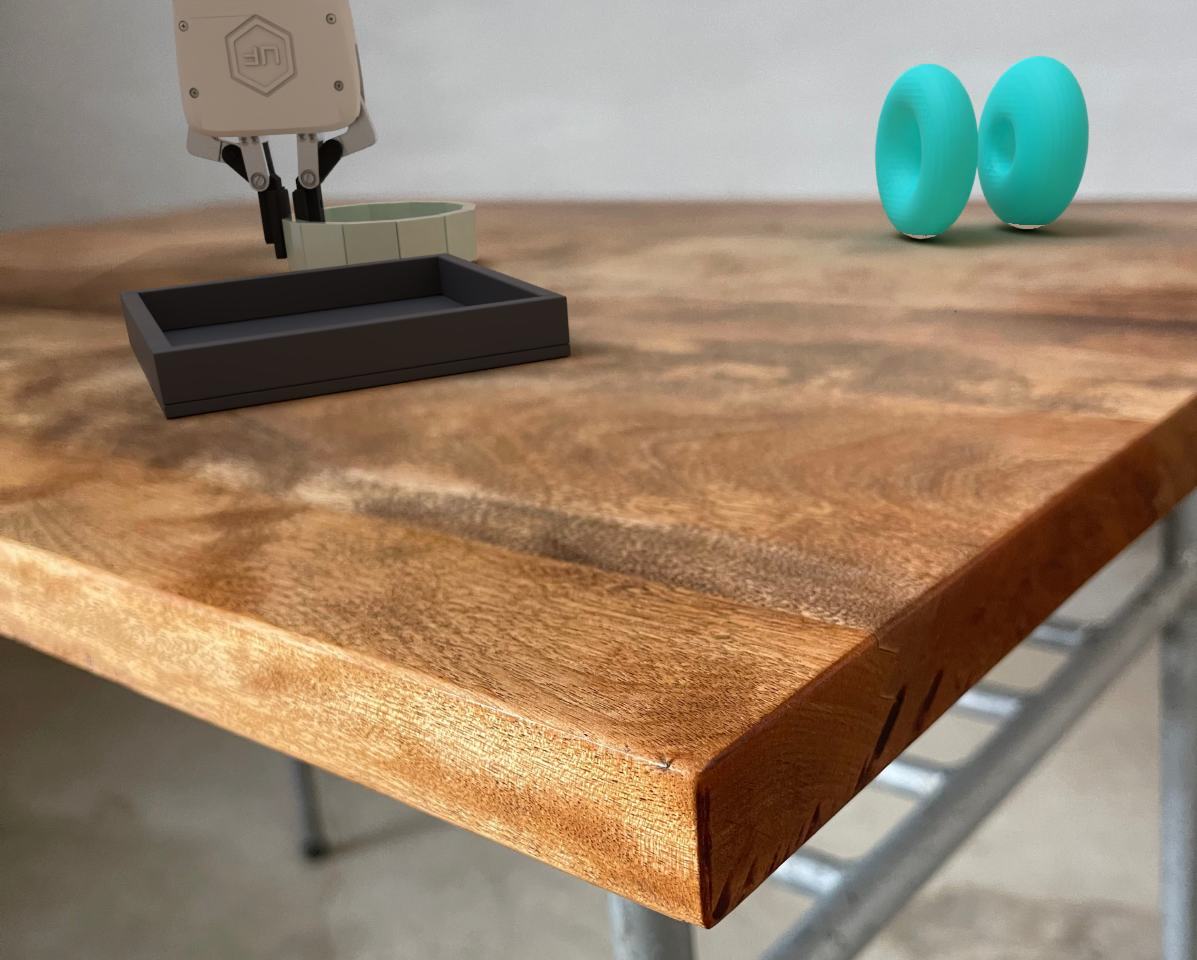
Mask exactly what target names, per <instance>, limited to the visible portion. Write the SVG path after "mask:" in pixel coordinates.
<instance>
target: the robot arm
mask: <svg viewBox="0 0 1197 960" xmlns="http://www.w3.org/2000/svg"><path fill="white" fill-rule="evenodd" d="M171 3H172V4H171V5H172V20H173V32H174V44H175V54H176V55H175V56H176V65H177V74H178V76H177V77H178V83H179V84H178V85H179V92H180V98H181V99H180V100H181V104H182V105H181V106H182V110H183V115H184V118H185V121H186V124H187V125H188V129H187V136H186V149H187V152H188V153H189V154H190V155H192V156H194V157H197V158H201V159H206V160H208V161H214V162H217V163H223V164H226V165H227V166H228V167H229V168H231V170H233V171H234V172H236V173H237V174H238V175H239V176H240V177H241V178H243V179H244V181H246V182H247V183H248V184H249V186H250V187H251V189H252V190H254V191H255V192H257V197H258V205H259V212H260V217H261V218H260V219H261V225H262V230H263V231H262V232H263V238H264V242H265V244H266V245H273V247H274V253H275V258H276V260H286V259H287V251H286V244H285V237H284V230H283V223H282V219H284V218H285V217H287V216H288V215H290V214H292V208H291V199H290V193H289V190H288V188H286V186H285V185H283V182H282V178H281V177H280V176H279V175H278V171H277V168H276V163H275V159H274V154H273V150H272V145H271V142H270V137H269V136H280V135H281V136H282V135H296V150H297V151H296V155H297V156H296V157H297V173H298V174H297V176H296V178H295V186H296V189H293V191H292V192H291V197H292V205H293V213H295V219H299V220H304V221H309V222H325V214H324V200H323V193H322V191H323V190H322V184H323V183H324V182H325V180H326V178H327V177H328V176H329V175H330V173H331V172H332V171H333V170H334V168H335V167H336V166H337V165H338V163H339V162H340V161H341V160H342V158H344V157H347V156H350V155H352V154H355V153H357V152H360V151H363V150H365V149H367V148H370V147H372V146H374V145H375V144H377V142H378V133H377V131H376V128H375V126H374V123H373V121H372V118H371V116H370V113H369V111H368V108H367V106H366V96H365V95H366V94H365V86H364V79H363V72H362V65H361V59H360V54H359V47H358V41H357V35H356V29H355V24H354V19H353V15H352V10H351V5H350V0H171ZM345 128H347V130H346V131H345V132H343V133H341V134H339V135H337V136H334V137H332V138H329V139H327V140H325V133H329V132H335V131H339V130H342V129H345ZM222 138H237V139H238V142H234V141H229V140H227V139H222Z"/></svg>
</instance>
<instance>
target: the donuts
mask: <svg viewBox="0 0 1197 960" xmlns="http://www.w3.org/2000/svg"><path fill="white" fill-rule="evenodd" d="M1084 95H1085V94H1084V93H1083V90H1082V88H1081V86H1080V83H1079V81H1078V80H1077V78H1076V77H1075V75H1074V73H1073V72H1072V71H1071V70H1070V68H1068V66H1067V65H1065V64H1064V63H1062V61H1059V60H1058V59H1056V58H1054V57H1050V56H1046V55H1033V56H1029V57H1026V58H1023V59H1021V60H1020V61H1017V62H1015V63H1014V64H1012V65H1011V66H1009V68H1008V69H1007V70H1005V72H1003V73H1002V74H1001V75H1000V77H999V78H998V79H997V81H996V82H995V84H994V85H993V87H992V89H991V90H990V92H989V94H988V96H987V98H986V101H985V102H984V106H983V108H982V111H981V116H980V119H979V124H978V123H977V117H976V113H975V109H974V105H973V102H972V100H971V98H970V95H969V93H968V90H967V89H966V87H965V86H964V85H963V83H962V81H961V80H960V79H959V78H958V76H957V75H955V73H953V72H952V71H951V70H949V69H948V68H946V67H944V66H942V65H940V64H935V63H921V64H918V65H914V66H912V67H910V68H909V69H907V70H906V71H904V72H903V73H901V74H900V76H899V77H898V78H897V79H896V80H895V81H894V82H893V84H892V86H891V87H890V88H889V90H888V92H887V94H886V96H885V99H884V101H883V104H882V107H881V110H880V114H879V117H878V118H879V119H878V123H877V128H876V129H877V130H876V135H875V146H874V147H875V148H874V163H875V179H876V186H877V190H878V195H879V199H880V202H881V204H882V205H881V206H882V208H883V210H884V213H885V214H886V217H887V218H888V221H889V222H890V223H891V224H892V226H893V227H894V228H895V229H896V230H897V231H898V232H899V231H900V232H903V233H906V234H912V235H923V236H924V235H925V236H927V235H938V234H940V235H941V234H944V233H945V232H946V231H948V230H949V229H950V228H951V227H952V226H953V225H954V224H955V223H956V221H957V220H959V217H960V216H961V215H962V213H963V211H964V210H965V208H966V205H967V204H968V202H969V199H970V196H971V195H972V191H973V187H974V183H975V180H976V175H978V180H979V185H980V188H981V192H982V194H983V197H984V199H985V201H986V203H987V204H988V206H989V208H990V209H991V210H992V212H993V213H994V215H995V216H996V217H997V218H998V219H999V220H1001V222H1003V223H1004V222H1006V223H1012V224H1019V225H1046V224H1048V225H1050V224H1052V223H1053V222H1054V221H1056V220H1057V219H1058V218H1059V217H1061V216H1062V215H1063V213H1064V212H1065V211H1066V210H1067V208H1068V207H1069V206H1070V204H1071V203H1072V201H1073V199H1074V198H1075V196H1076V194H1077V192H1078V190H1079V187H1080V185H1081V182H1082V179H1083V176H1084V172H1085V168H1086V163H1087V159H1088V151H1089V137H1090V129H1089V128H1090V127H1089V126H1090V125H1089V123H1090V122H1089V114H1088V108H1087V103H1086V99H1085V96H1084ZM1006 223H1005V224H1006ZM1046 226H1047V225H1046ZM938 236H939V235H938Z"/></svg>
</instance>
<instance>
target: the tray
mask: <svg viewBox="0 0 1197 960" xmlns="http://www.w3.org/2000/svg"><path fill="white" fill-rule="evenodd" d="M118 295H119V299H120V302H121V303H120V304H121V309H122V313H123V318H124V323H125V327H126V331H127V332H126V333H127V336H128V342H129V344H130V347H131V348H132V351H133V352H134V355H135V358H136V359H137V361H138V363H139V365H140V367H141V370H142V371H143V373H144V375H145V378H146V380H147V381H148V384H149V385H150V388H151V390H152V392H153V394H154V396H155V398H156V401H157V402H158V404H159V406H160V408H161V410H162V412H163V415H164V417H165V418H166V419H174V418H180V417H185V416H191V415H192V416H193V415H199V414H206V413H212V412H219V411H225V410H230V409H236V408H244V407H249V406H257V405H263V404H270V403H274V402H275V403H276V402H282V401H288V400H289V401H290V400H294V399H295V400H296V399H301V398H302V399H303V398H308V397H314V396H321V395H326V394H333V393H339V392H345V391H353V390H359V389H365V388H366V389H367V388H372V387H377V386H385V385H391V384H398V383H403V382H409V381H418V380H423V379H430V378H437V377H442V376H449V375H455V374H461V373H468V372H475V371H480V370H488V369H493V368H501V367H506V366H513V365H518V364H520V365H521V364H524V363H532V362H538V361H543V360H544V361H545V360H550V359H558V358H565V357H570V356H571V355H572V352H571V350H572V349H571V344H570V343H571V340H570V323H569V310H568V297H567V296H566V295H564V294H560V293H558V292H555V291H552V290H549V289H548V288H547V289H546V288H544V287H541V286H538V285H535V284H533V283H530V282H528V281H525V280H522V279H519V278H517V277H514V276H511V275H508V274H506V273H502V272H500V271H497V270H494V269H492V268H489V267H487V266H483V265H481V264H478V263H475V262H473V261H471V262H470V261H467V260H464V259H461V258H459V257H456V256H453V255H451V254H448V253H442V254H434V255H426V256H417V257H409V258H401V259H392V260H384V261H376V262H367V263H359V264H351V265H342V266H334V267H326V268H317V269H309V270H301V271H292V270H291V271H285V272H275V273H267V274H260V275H252V276H251V275H250V276H243V277H236V278H235V277H233V278H227V279H218V280H210V281H201V282H194V283H185V284H176V285H168V286H161V287H151V288H144V289H135V290H127V291H119V294H118Z"/></svg>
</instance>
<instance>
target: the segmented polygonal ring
mask: <svg viewBox="0 0 1197 960" xmlns="http://www.w3.org/2000/svg"><path fill="white" fill-rule="evenodd" d="M324 214H325V222H309V221H304V220H299V219H295V213H294V212H292V213H291V214H290V215H288V216H287V217H285V218H284V219H282V223H283V230H284V237H285V244H286V251H287V258H286V259H287V265H288V270H289V271H291V272H292V271H301V270H309V269H317V268H326V267H334V266H342V265H351V264H359V263H367V262H376V261H384V260H392V259H401V258H409V257H417V256H426V255H434V254H442V253H448V254H451V255H453V256H456V257H459V258H461V259H464V260H467V261H470V262H474V261H477V260H478V259H479V255H480V251H481V250H480V240H479V239H480V238H479V225H478V215H477V205H476V203H474V202H467V201H458V200H444V199H443V200H442V199H441V200H438V199H436V200H433V199H432V200H431V199H429V200H427V199H415V200H412V199H410V200H395V201H394V200H392V201H375V202H361V203H352V204H343V205H334V206H325V207H324Z"/></svg>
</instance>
